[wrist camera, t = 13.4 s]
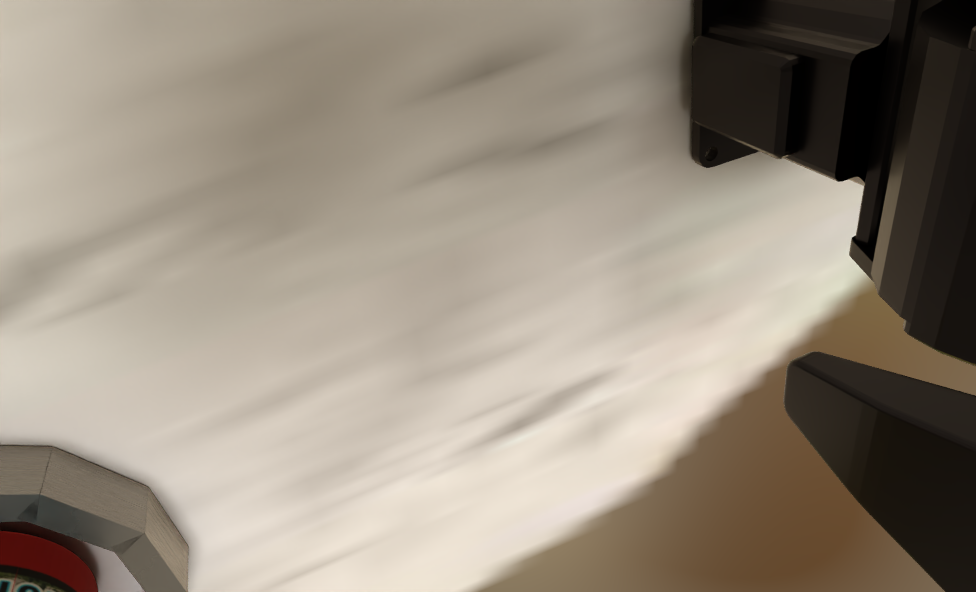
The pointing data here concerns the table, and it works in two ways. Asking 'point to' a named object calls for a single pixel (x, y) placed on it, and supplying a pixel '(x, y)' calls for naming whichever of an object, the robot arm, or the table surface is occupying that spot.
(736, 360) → the table surface
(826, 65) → the robot arm
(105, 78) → the table surface
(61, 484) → the ring collar
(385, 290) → the table surface
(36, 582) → the beverage can
